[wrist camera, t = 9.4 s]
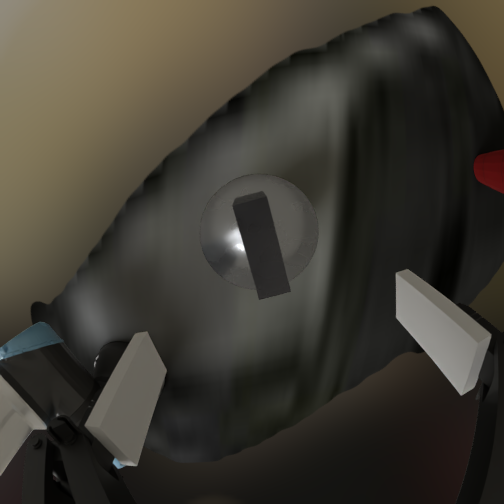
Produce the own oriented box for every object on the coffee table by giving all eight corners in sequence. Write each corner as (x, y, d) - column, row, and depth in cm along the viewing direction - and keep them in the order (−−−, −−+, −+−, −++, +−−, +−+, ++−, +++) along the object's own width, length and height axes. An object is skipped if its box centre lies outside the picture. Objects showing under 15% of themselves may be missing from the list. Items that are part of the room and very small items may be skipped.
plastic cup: (461, 140, 36) (506, 140, 25) (492, 143, 36) (532, 145, 25) (466, 197, 40) (509, 208, 28) (495, 194, 39) (535, 204, 28)
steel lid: (220, 296, 33) (215, 328, 26) (187, 192, 30) (170, 200, 23) (324, 269, 33) (343, 295, 26) (301, 161, 29) (318, 159, 22)
